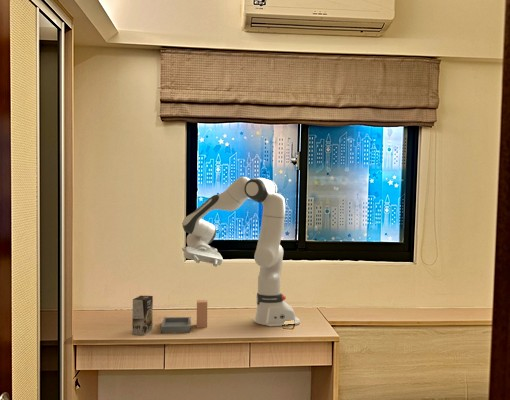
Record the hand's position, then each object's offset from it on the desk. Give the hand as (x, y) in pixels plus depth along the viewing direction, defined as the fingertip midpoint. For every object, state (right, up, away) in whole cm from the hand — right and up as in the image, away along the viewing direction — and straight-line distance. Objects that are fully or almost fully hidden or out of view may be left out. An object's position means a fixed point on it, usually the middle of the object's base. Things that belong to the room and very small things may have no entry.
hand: (207, 263), depth 257 cm
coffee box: (-28, -30, -18) cm, 45 cm away
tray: (-14, -29, -11) cm, 34 cm away
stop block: (-2, -29, -6) cm, 30 cm away
